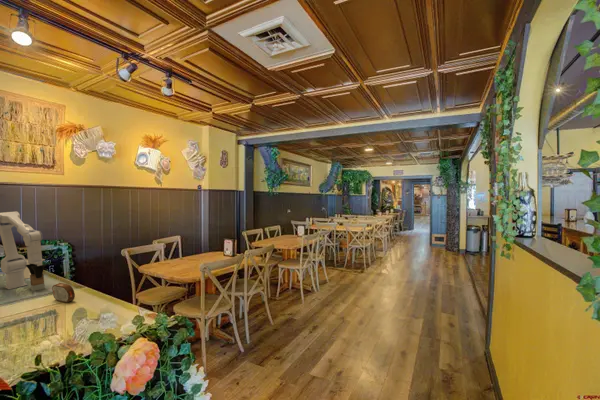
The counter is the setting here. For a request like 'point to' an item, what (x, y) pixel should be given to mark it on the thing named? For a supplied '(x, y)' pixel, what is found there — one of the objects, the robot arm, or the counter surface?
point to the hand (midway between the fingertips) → (36, 276)
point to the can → (27, 272)
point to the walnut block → (36, 280)
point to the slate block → (37, 287)
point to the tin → (63, 292)
